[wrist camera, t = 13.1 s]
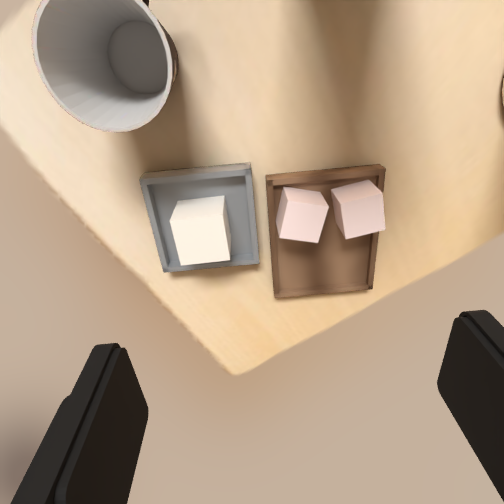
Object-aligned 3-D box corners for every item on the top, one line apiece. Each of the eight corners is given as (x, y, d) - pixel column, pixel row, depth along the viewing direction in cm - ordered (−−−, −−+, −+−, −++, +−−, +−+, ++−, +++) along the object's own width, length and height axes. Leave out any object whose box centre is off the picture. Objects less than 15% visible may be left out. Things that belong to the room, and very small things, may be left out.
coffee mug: (147, 130, 34) (116, 157, 25) (71, 53, 30) (4, 54, 21) (235, 38, 30) (234, 33, 21) (160, -61, 27) (122, -115, 18)
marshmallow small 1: (368, 179, 36) (382, 193, 32) (372, 213, 38) (385, 229, 34) (330, 189, 36) (340, 203, 33) (335, 222, 38) (345, 239, 35)
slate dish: (250, 162, 35) (250, 168, 34) (258, 253, 41) (259, 263, 39) (144, 172, 36) (139, 179, 34) (166, 262, 41) (163, 272, 39)
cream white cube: (224, 195, 36) (222, 214, 32) (231, 236, 39) (230, 260, 35) (177, 200, 36) (169, 220, 32) (187, 241, 39) (180, 265, 35)
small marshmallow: (320, 191, 36) (328, 206, 33) (310, 225, 38) (317, 243, 35) (283, 186, 36) (287, 200, 32) (275, 220, 38) (279, 237, 34)
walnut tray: (379, 164, 36) (385, 168, 35) (367, 281, 44) (372, 288, 42) (265, 175, 36) (266, 180, 35) (273, 289, 44) (274, 297, 42)
